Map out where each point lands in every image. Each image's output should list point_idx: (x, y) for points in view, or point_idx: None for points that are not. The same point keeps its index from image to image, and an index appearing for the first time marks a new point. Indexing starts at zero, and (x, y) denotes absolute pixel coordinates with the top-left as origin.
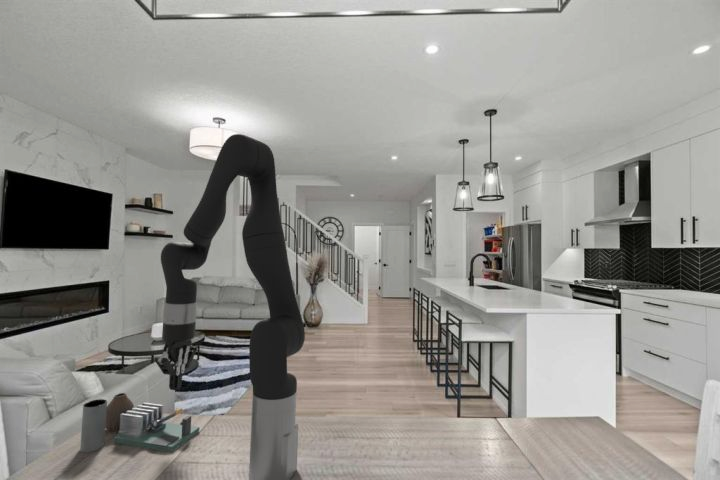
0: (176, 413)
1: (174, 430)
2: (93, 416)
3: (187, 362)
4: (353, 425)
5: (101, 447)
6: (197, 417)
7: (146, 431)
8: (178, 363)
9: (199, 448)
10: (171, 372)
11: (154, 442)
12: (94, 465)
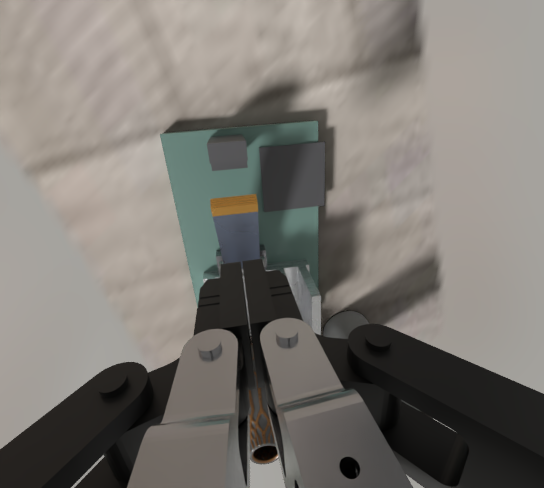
0: (252, 199)
1: None
2: None
3: (96, 442)
4: None
5: (342, 312)
6: (80, 225)
7: (279, 266)
8: (378, 429)
9: (263, 32)
10: (412, 345)
11: (316, 196)
12: (408, 259)
